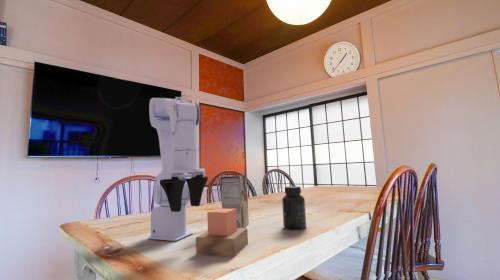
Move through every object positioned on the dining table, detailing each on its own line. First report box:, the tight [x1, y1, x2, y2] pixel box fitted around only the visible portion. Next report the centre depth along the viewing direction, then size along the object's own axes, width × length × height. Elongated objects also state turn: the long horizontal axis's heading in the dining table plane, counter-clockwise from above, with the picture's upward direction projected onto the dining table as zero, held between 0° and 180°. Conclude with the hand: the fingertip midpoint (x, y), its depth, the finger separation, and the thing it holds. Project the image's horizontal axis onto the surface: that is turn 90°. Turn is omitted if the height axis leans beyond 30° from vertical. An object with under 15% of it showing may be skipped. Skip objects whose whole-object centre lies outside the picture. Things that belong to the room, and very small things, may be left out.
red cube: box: [206, 208, 237, 236], centre depth 58 cm, size 5×5×5 cm
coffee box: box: [220, 174, 250, 228], centre depth 79 cm, size 9×6×16 cm
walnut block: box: [195, 227, 249, 258], centre depth 58 cm, size 9×9×4 cm
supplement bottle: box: [281, 185, 307, 231], centre depth 75 cm, size 7×7×12 cm
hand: (186, 208), depth 59 cm, fingers open, 7 cm apart
